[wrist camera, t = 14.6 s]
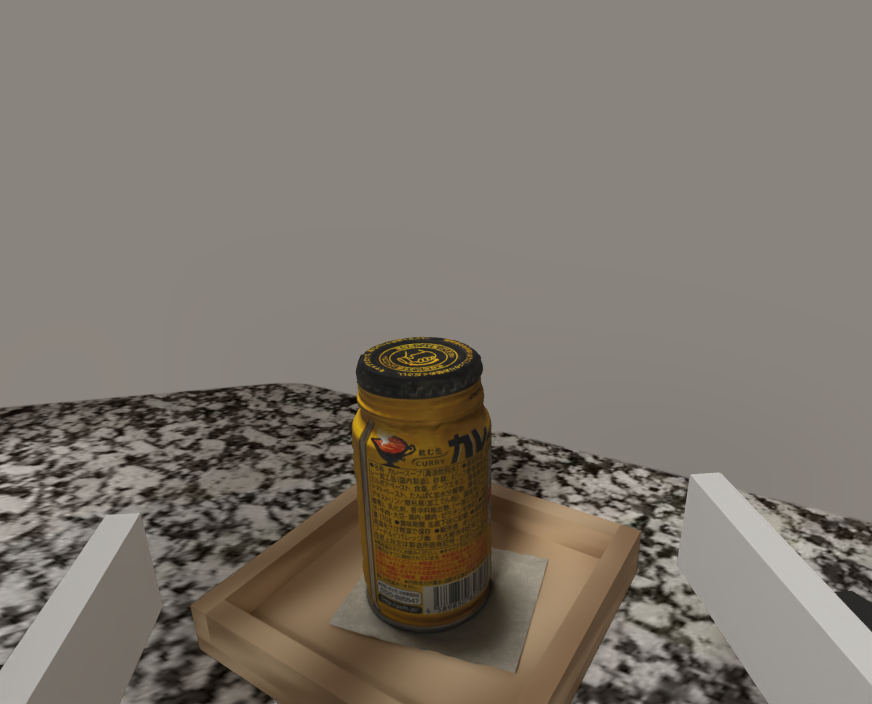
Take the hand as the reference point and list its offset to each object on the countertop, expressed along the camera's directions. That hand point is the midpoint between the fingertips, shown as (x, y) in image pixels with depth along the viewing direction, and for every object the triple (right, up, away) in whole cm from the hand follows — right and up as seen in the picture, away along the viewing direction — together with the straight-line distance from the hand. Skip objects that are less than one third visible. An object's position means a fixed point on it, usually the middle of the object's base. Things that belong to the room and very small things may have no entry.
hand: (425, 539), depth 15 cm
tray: (0, -8, +14) cm, 16 cm away
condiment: (+1, -7, +14) cm, 16 cm away
